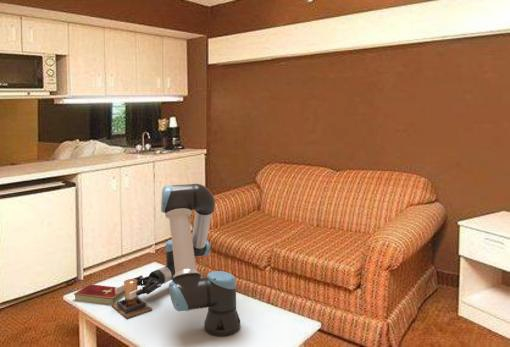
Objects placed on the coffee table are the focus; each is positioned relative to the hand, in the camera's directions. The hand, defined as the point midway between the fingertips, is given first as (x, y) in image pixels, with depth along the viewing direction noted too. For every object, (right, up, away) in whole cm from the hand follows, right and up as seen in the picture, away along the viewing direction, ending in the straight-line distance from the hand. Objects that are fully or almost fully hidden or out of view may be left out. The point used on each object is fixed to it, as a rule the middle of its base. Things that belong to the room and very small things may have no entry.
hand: (122, 293), depth 190 cm
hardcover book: (-16, -7, +17) cm, 24 cm away
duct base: (+3, -8, +5) cm, 10 cm away
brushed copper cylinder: (+3, -7, +5) cm, 9 cm away
